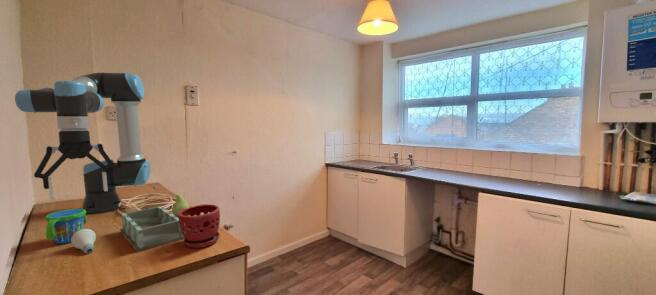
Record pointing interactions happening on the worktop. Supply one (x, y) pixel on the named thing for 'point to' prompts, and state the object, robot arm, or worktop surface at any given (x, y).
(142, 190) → the worktop surface
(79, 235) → the light bulb
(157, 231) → the grey plastic crate
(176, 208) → the fruit
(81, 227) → the blue plastic tub
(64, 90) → the robot arm
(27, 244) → the worktop surface
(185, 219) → the plant pot
